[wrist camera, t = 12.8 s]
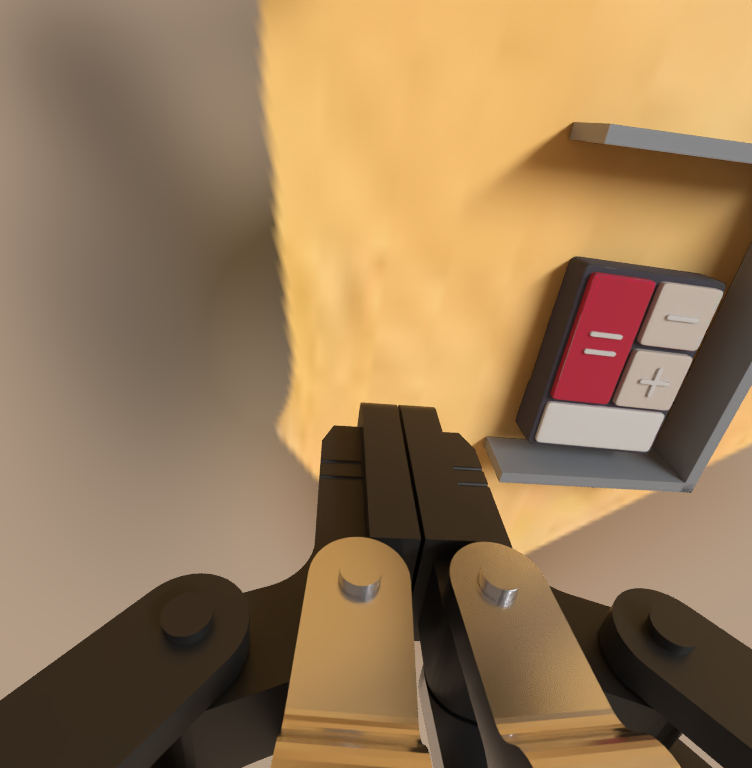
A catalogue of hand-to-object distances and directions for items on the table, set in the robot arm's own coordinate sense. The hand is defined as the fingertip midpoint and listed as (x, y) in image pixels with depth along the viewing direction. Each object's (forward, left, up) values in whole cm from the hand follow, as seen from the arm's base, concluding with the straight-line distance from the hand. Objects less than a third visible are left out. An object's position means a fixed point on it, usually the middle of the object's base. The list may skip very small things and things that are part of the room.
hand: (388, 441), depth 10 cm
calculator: (+9, +21, -28) cm, 36 cm away
